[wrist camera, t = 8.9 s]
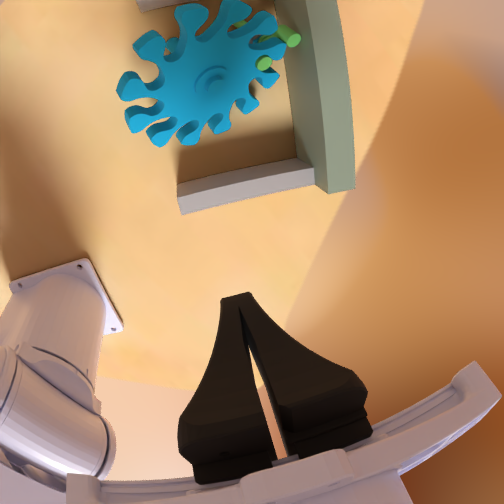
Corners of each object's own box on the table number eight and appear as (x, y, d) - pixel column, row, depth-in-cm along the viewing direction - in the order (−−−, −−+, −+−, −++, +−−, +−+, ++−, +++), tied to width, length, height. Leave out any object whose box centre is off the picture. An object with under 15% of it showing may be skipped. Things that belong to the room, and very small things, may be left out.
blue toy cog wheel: (162, 177, 18) (88, 71, 8) (131, 124, 19) (71, 28, 10) (300, 100, 19) (313, -19, 9) (255, 59, 20) (247, -45, 10)
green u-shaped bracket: (180, 199, 21) (182, 228, 17) (139, -2, 13) (128, -28, 8) (321, 168, 22) (355, 188, 18) (295, -19, 14) (326, -41, 10)
